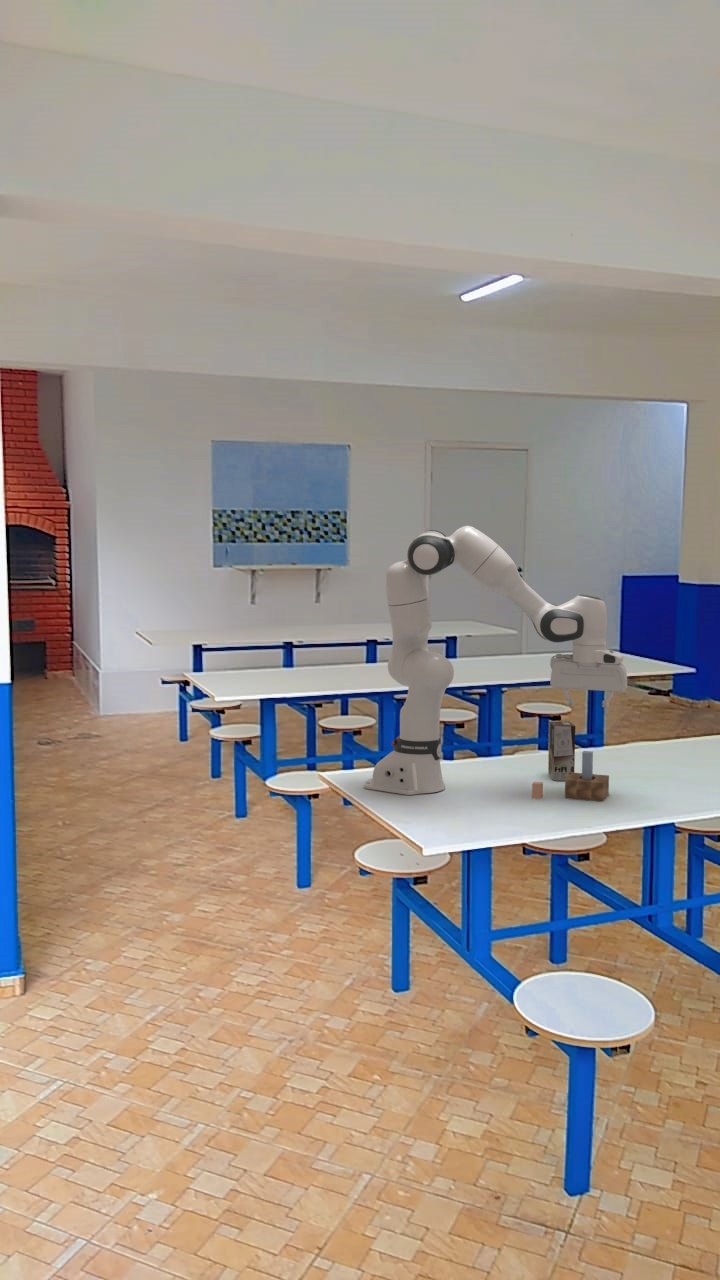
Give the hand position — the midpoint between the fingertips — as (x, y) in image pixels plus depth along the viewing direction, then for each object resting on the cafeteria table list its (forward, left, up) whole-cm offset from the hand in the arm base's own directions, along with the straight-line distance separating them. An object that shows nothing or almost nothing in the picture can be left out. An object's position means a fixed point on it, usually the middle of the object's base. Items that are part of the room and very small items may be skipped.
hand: (587, 706), depth 271 cm
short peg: (-12, -7, -25) cm, 28 cm away
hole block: (0, 0, -24) cm, 24 cm away
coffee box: (-11, +20, -25) cm, 33 cm away
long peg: (0, 0, -25) cm, 25 cm away
